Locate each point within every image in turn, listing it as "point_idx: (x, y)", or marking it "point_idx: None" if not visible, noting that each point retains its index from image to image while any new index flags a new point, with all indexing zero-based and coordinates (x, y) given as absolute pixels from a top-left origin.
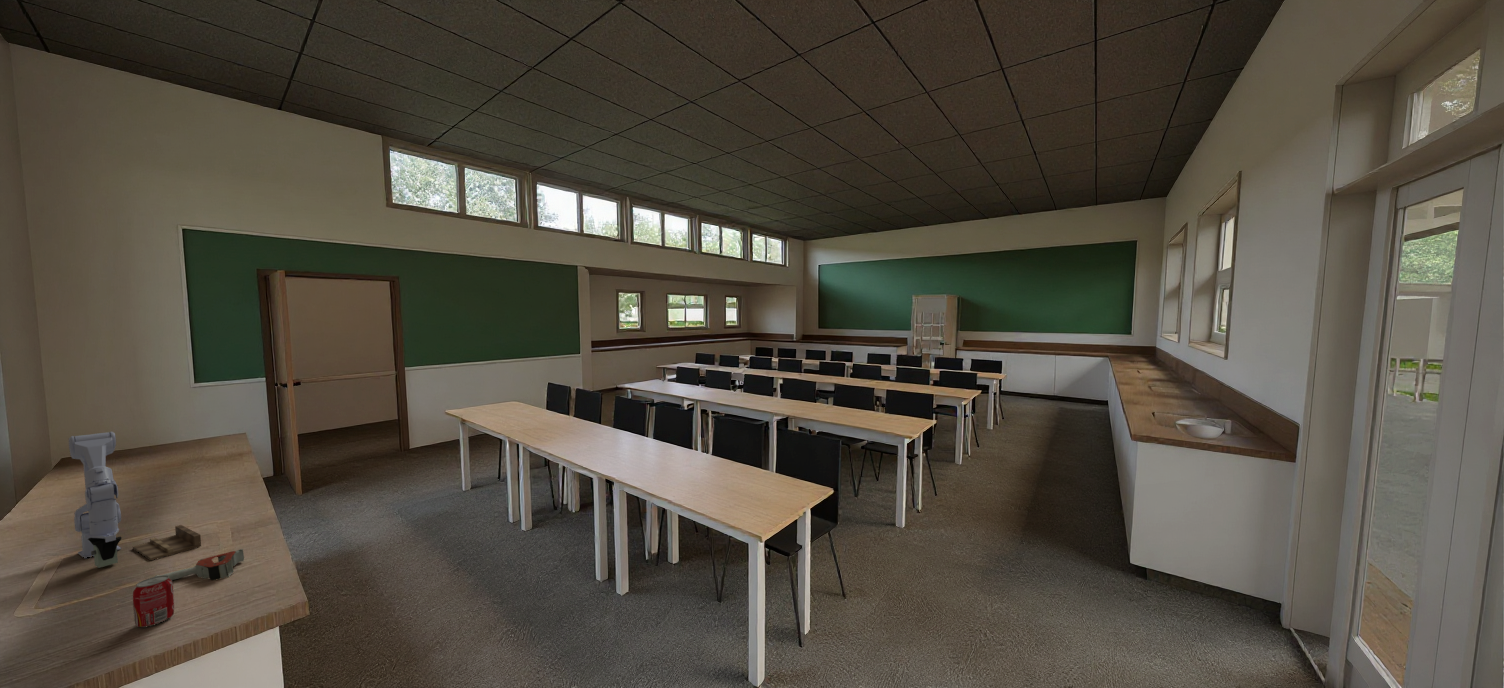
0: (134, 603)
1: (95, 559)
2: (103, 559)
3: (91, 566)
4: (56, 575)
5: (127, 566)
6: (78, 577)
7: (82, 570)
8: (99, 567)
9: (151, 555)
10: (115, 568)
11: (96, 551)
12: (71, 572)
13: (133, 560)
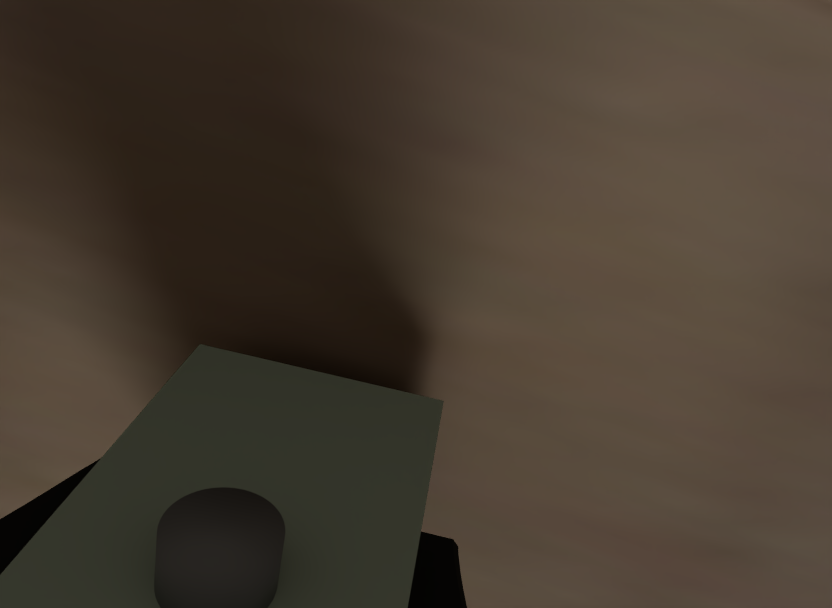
0: None
1: (334, 457)
2: (88, 468)
3: (572, 388)
4: (746, 13)
5: (8, 479)
6: (165, 85)
7: (510, 266)
8: (200, 355)
9: None
10: (75, 413)
11: (116, 592)
12: (608, 171)
13: None
